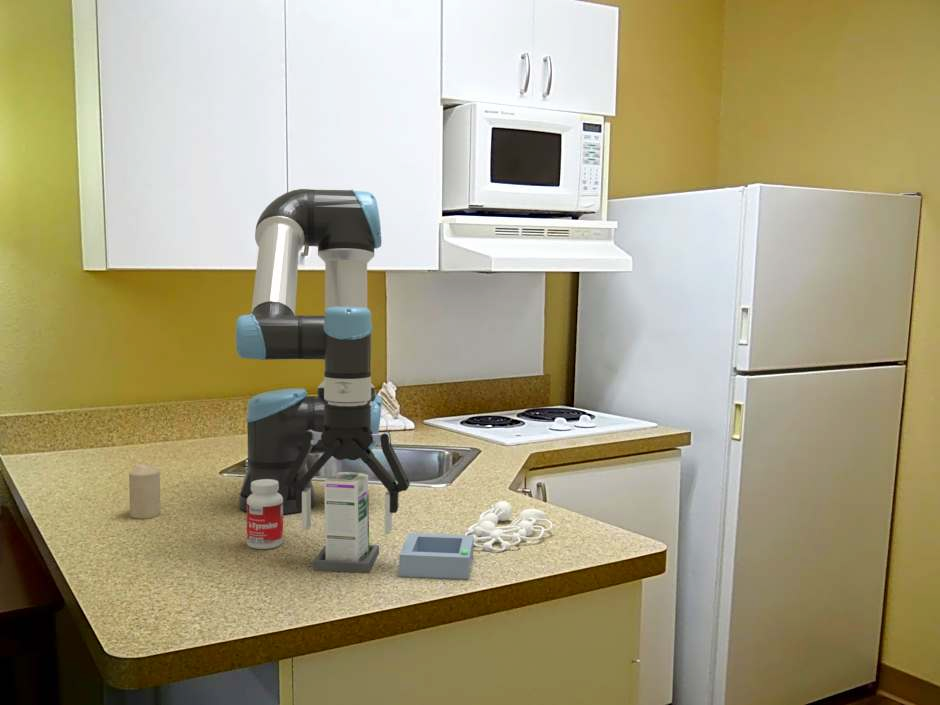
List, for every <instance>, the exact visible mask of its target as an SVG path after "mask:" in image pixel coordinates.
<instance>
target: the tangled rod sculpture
mask: <svg viewBox="0 0 940 705" xmlns="http://www.w3.org/2000/svg"><path fill="white" fill-rule="evenodd" d="M512 514H513V508H512V505H511V504H510V503H509V502H508V501H503V500H500V501H497V502H496V503H495V504H491V505H490V509H488V510H485V511H483V512H482V513H481V514H480V515H479V518H478V520H477V522H476V523H474V524H471V525H470V526H469V527H468V528H467V529H466V532H465V533H464V534H463V535H471V534H473V535H474V541H473V547H476V548H480V549H482V550H483V551H484V552H491V551H494V552H498V553H499V552H503V551H510V549H511V548H512V546H513V547H514V546H516V545H519V544H520V543H521V541H522V540H525V541H526V540H527V541H538V540H541V538H542V537H543V536H544V534H545V532H549V531H551V530H552V529H553V527H554V524H553V523H552V521H551V520H549V519H548V518H546V513H545V511H543V510H539V509H538V508H527V509H524V510H522V511H521V512H520V513H519V515H518V516H517V517H516V518H515V519H513V521H512V522H510V524H509V525H506V526H497V524H498V523H499V521H501V522H504V521H508V519H511V517H512ZM538 522H546V523H548V524H549V527H548V528H545V527H544V526H542V525H537V524H536V523H538ZM535 524H536V525H535ZM533 532H534V533H540V534H539V535H538V536H535V537H530V536H531V535H532V534H533ZM510 533H512V534H510ZM478 536H479V537H478ZM502 538H503V539H511V541H512V542H513V543H512V542H511V543H510V542H509V541H507V540H503V539H502ZM488 540H489V541H488ZM480 541H486V542H484V543H483V545H481V544H477V543H478V542H480ZM498 542H499V543H501V545H500V549H498V548H495V547H493V544H494V543H498Z"/></svg>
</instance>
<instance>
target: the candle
mask: <svg viewBox="0 0 940 705" xmlns="http://www.w3.org/2000/svg"><path fill="white" fill-rule="evenodd" d="M160 473H161V470H160V469H159V468H157V467H156V466H155V465H153V464H148V463H142V462H139V463H137V464H135V465H134V466H133V468H131V470H130V471H128V483H129V485H128V488H129V490H128V491H129V515H130V516H129V517H130V518H132V519H135V520H136V519H139V520H143V519H151V518H155V517H158V516H160V515H161V478H160V477H161V474H160Z"/></svg>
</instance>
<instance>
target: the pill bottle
mask: <svg viewBox="0 0 940 705" xmlns="http://www.w3.org/2000/svg"><path fill="white" fill-rule="evenodd" d="M278 490H279V482H278V481H276V480H272V479H262V480H255V481H253V482H251V491H252V492H253V493H252V494H251V495H249V497H248V498H247V512H246V545H247V546H248V547H249V548H252V549H256V550H269V549H270V550H271V549H276V548H277V547H279V546H281V545H282V544H283V542H284V514H283V497H282V496H281V494H279V493H277V491H278Z"/></svg>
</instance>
